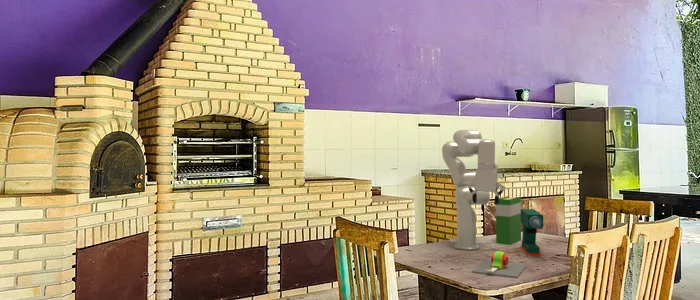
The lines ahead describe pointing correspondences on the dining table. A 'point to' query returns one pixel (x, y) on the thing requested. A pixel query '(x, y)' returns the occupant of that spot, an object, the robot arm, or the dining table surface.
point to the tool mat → (507, 271)
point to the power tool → (531, 231)
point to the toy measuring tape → (498, 261)
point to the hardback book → (508, 220)
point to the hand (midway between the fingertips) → (485, 203)
